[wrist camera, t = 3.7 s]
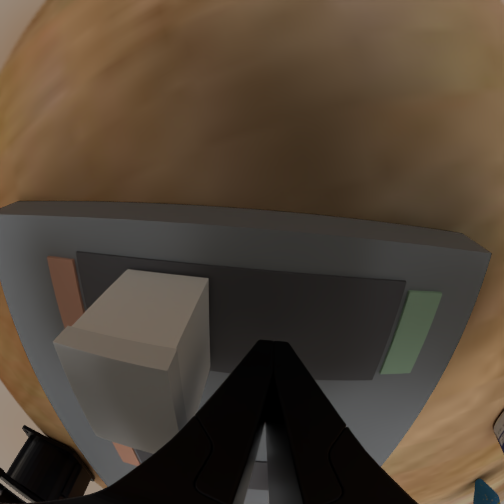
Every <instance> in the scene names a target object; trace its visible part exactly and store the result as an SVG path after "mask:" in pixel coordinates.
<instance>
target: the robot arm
mask: <svg viewBox="0 0 504 504" xmlns="http://www.w3.org/2000/svg"><path fill="white" fill-rule="evenodd" d="M264 425H265V429H266V449H267V468H268V489H269V504H418V503H417V502H416V501H415V500H413V499H412V498H411V497H410V496H409V495H408V494H407V493H406V492H405V491H404V490H403V489H402V488H401V487H400V486H399V485H398V484H397V483H396V482H395V481H394V480H393V479H392V478H391V477H390V476H389V475H388V474H387V473H386V472H385V471H384V470H383V469H382V468H381V467H380V466H379V465H378V463H377V462H376V461H375V460H374V459H373V458H372V457H371V456H370V455H369V454H368V452H367V451H366V450H365V449H364V447H363V446H362V445H361V444H360V442H359V441H358V440H357V438H356V437H355V436H354V434H353V433H352V432H351V430H350V429H349V427H346V426H347V425H346V423H345V422H344V421H343V419H342V418H341V416H340V415H339V414H338V412H337V411H336V409H335V408H334V407H333V405H332V404H331V402H330V401H329V399H328V398H327V397H326V395H325V394H324V392H323V391H322V390H321V388H320V387H319V385H318V384H317V382H316V381H315V380H314V378H313V377H312V375H311V374H310V372H309V371H308V370H307V368H306V367H305V365H304V364H303V362H302V361H301V360H300V358H299V357H298V355H297V354H296V352H295V351H294V349H293V348H292V347H291V345H290V344H289V343H288V342H286V341H272V340H262V339H260V340H258V341H257V342H256V343H255V345H254V346H253V347H252V348H251V349H250V351H249V352H248V353H247V354H246V356H245V357H244V358H243V359H242V360H241V362H240V363H239V364H238V365H237V366H236V368H235V369H234V370H233V371H232V372H231V374H230V375H229V376H228V377H227V378H226V379H225V381H224V382H223V383H222V384H221V385H220V386H219V388H218V389H217V390H216V391H215V392H214V393H213V395H212V396H211V397H210V398H209V399H208V400H207V401H206V403H205V404H204V405H203V406H202V407H201V408H200V409H199V410H198V412H197V413H196V414H195V416H193V417H192V418H191V419H190V420H189V421H188V423H187V424H186V425H185V426H184V427H183V428H182V429H181V430H180V431H179V432H178V433H177V434H176V435H175V436H174V437H173V438H172V439H171V440H170V441H169V442H167V443H166V444H165V445H164V446H163V447H161V448H160V449H159V450H158V451H157V452H155V453H154V454H153V455H152V456H150V457H149V458H148V459H146V460H145V461H144V462H142V463H141V464H140V465H138V466H137V467H136V468H134V469H133V470H132V471H130V472H129V473H128V474H126V475H125V476H123V477H122V478H121V479H119V480H118V481H116V482H115V483H113V484H112V485H110V486H108V487H107V488H105V489H103V490H100V491H98V492H95V493H92V494H89V495H85V496H83V495H84V493H85V491H86V488H87V486H88V484H89V482H90V481H94V479H95V477H94V476H93V475H92V474H91V472H90V471H89V470H88V469H87V467H86V466H85V465H84V464H83V462H82V461H81V460H80V458H79V457H78V456H77V454H76V453H75V452H74V451H73V450H72V449H71V448H69V447H67V446H64V445H62V444H60V443H58V442H56V441H54V440H52V439H50V438H48V437H46V436H44V435H42V434H40V433H38V432H36V431H35V430H32V429H31V428H29V427H27V426H25V425H24V426H23V428H22V429H23V430H24V432H25V433H26V434H27V436H28V437H29V438H28V439H27V441H26V442H25V444H24V446H23V447H22V449H21V450H20V452H19V453H18V455H17V457H16V458H15V460H14V462H13V463H12V465H11V467H10V468H9V470H8V472H7V473H5V472H4V470H3V469H1V468H0V479H1V480H3V481H4V482H5V483H6V484H8V485H9V486H10V487H12V488H13V489H14V490H16V491H17V492H18V493H19V494H21V495H22V496H24V497H25V498H26V499H28V500H30V501H31V502H32V503H26V502H25V501H23V500H22V499H20V498H19V497H18V496H16V495H15V494H14V493H12V492H11V491H10V490H8V489H7V488H6V487H5V486H3V485H2V484H1V483H0V504H244V501H245V497H246V494H247V490H248V487H249V483H250V479H251V476H252V472H253V468H254V464H255V460H256V457H257V453H258V449H259V445H260V441H261V437H262V433H263V429H264Z"/></svg>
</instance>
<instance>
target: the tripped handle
mask: <svg viewBox="0 0 504 504" xmlns="http://www.w3.org/2000/svg"><path fill="white" fill-rule="evenodd" d="M53 344H54V346H55V349H56V352H57V354H58V357H59V359H60V362H61V364H62V367H63V369H64V372H65V374H66V376H67V379H68V381H69V383H70V386H71V388H72V390H73V392H74V394H75V396H76V398H77V401H78V403H79V405H80V407H81V409H82V411H83V413H84V415H85V417H86V418H87V420H88V422H89V424H90V426H91V428H92V430H93V431H94V433H95V435H96V436H98V437H100V438H103V439H106V440H109V441H112V442H115V443H118V444H121V445H124V446H128V447H131V448H134V449H138V450H141V451H145V452H149V453H152V454H154V453H155V452H157V451H158V450H159V449H160V448H161V447H163V446H164V445H165V444H166V443H167V442H169V441H170V440H171V439H172V438H173V437H174V436H175V435H176V434H177V433H178V432H179V431H180V430H181V429H182V428H183V427H184V426H185V425H186V424H187V423H188V421H189V420H190V419H191V418H192V417H193V416H195V414H196V413H197V411H198V408H199V404H200V401H201V397H202V394H203V390H204V387H205V383H206V380H207V377H208V373H209V370H210V337H209V278H202V277H193V276H184V275H174V274H165V273H157V272H148V271H140V270H131V269H127V270H126V271H125V272H124V273H123V274H122V275H121V276H120V277H119V278H118V279H117V280H116V281H115V282H114V283H113V284H112V285H111V286H110V287H109V288H108V289H107V290H106V291H105V292H104V293H103V294H102V295H101V296H100V297H99V298H98V299H97V300H96V301H95V302H94V303H93V304H92V305H91V306H90V307H89V308H88V309H87V310H86V311H85V312H84V314H83V315H82V316H81V317H80V318H79V319H78V320H77V321H76V322H75V323H74V324H73V325H72V326H67V327H66V328H65V329H64V330H63V331H62V332H61V333H60V334H59V335H58V336H57V337H56V339H55V340H54V341H53Z"/></svg>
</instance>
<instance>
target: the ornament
mask: <svg viewBox="0 0 504 504" xmlns="http://www.w3.org/2000/svg"><path fill="white" fill-rule="evenodd" d="M473 504H500V500H499V496H498V495H497V493H496V492H495V491H494V490H493V489H492V488H490V487H489V486H488V485H487V484H486V483H485V482H484V481H483V480H482V479H477V480H476V481H475V492H474V502H473Z"/></svg>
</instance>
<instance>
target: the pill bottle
mask: <svg viewBox="0 0 504 504" xmlns="http://www.w3.org/2000/svg"><path fill="white" fill-rule="evenodd" d="M494 433H495V435H496V438H497V440H498V442H499V444H500V446H501V448H502V451H503V453H504V411H503V413H502V414H501V415H500V417H499V418H498V419H497V421H496V423H495V425H494Z"/></svg>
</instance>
